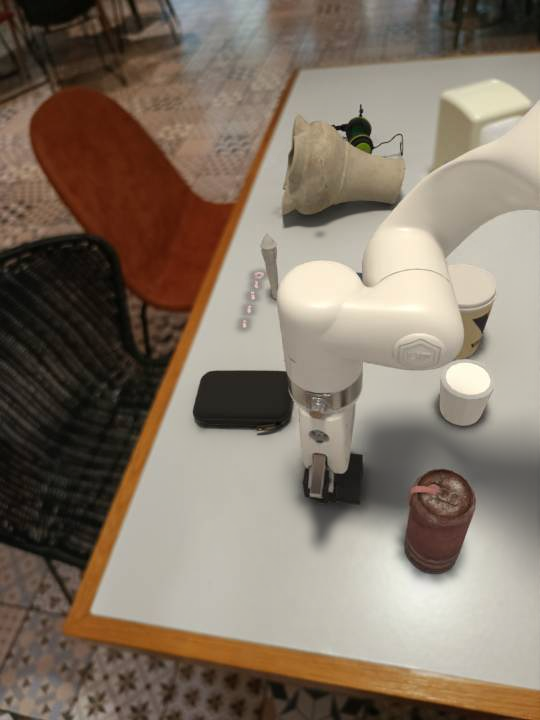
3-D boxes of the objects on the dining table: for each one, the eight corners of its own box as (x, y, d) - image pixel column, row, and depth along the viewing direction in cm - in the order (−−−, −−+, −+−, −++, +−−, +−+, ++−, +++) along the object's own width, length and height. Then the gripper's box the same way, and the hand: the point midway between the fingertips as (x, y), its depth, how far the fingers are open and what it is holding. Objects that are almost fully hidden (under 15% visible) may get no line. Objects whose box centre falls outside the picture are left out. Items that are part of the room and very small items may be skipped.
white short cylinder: (446, 383, 77) (453, 351, 72) (493, 401, 74) (503, 370, 69) (427, 416, 74) (432, 385, 69) (475, 437, 71) (484, 406, 65)
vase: (428, 112, 106) (291, 91, 105) (450, 145, 90) (289, 121, 89) (397, 212, 120) (277, 194, 119) (412, 257, 103) (272, 237, 102)
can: (398, 524, 64) (405, 466, 54) (452, 522, 63) (469, 463, 53) (405, 574, 60) (414, 522, 50) (462, 574, 59) (484, 521, 49)
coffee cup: (480, 369, 78) (495, 310, 69) (416, 358, 81) (423, 300, 72) (486, 326, 84) (501, 266, 75) (426, 317, 87) (434, 258, 78)
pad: (363, 470, 70) (363, 454, 67) (359, 504, 66) (359, 489, 63) (311, 463, 71) (308, 448, 68) (304, 497, 68) (302, 482, 65)
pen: (273, 292, 96) (262, 227, 85) (286, 295, 95) (277, 230, 84) (267, 301, 94) (255, 236, 84) (280, 304, 93) (270, 239, 83)
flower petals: (255, 272, 100) (254, 270, 100) (265, 272, 100) (265, 270, 99) (238, 328, 91) (237, 326, 90) (249, 328, 90) (248, 326, 90)
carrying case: (191, 434, 77) (290, 436, 75) (186, 422, 75) (288, 424, 72) (204, 378, 84) (296, 378, 81) (200, 365, 82) (294, 365, 79)
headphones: (405, 124, 111) (311, 133, 114) (403, 167, 118) (314, 173, 121) (399, 93, 121) (313, 101, 124) (397, 134, 129) (316, 140, 132)
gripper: (352, 454, 46) (351, 534, 59) (370, 317, 57) (366, 410, 70) (269, 444, 48) (286, 524, 60) (302, 313, 59) (310, 404, 71)
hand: (329, 463), depth 65 cm, fingers open, 9 cm apart
